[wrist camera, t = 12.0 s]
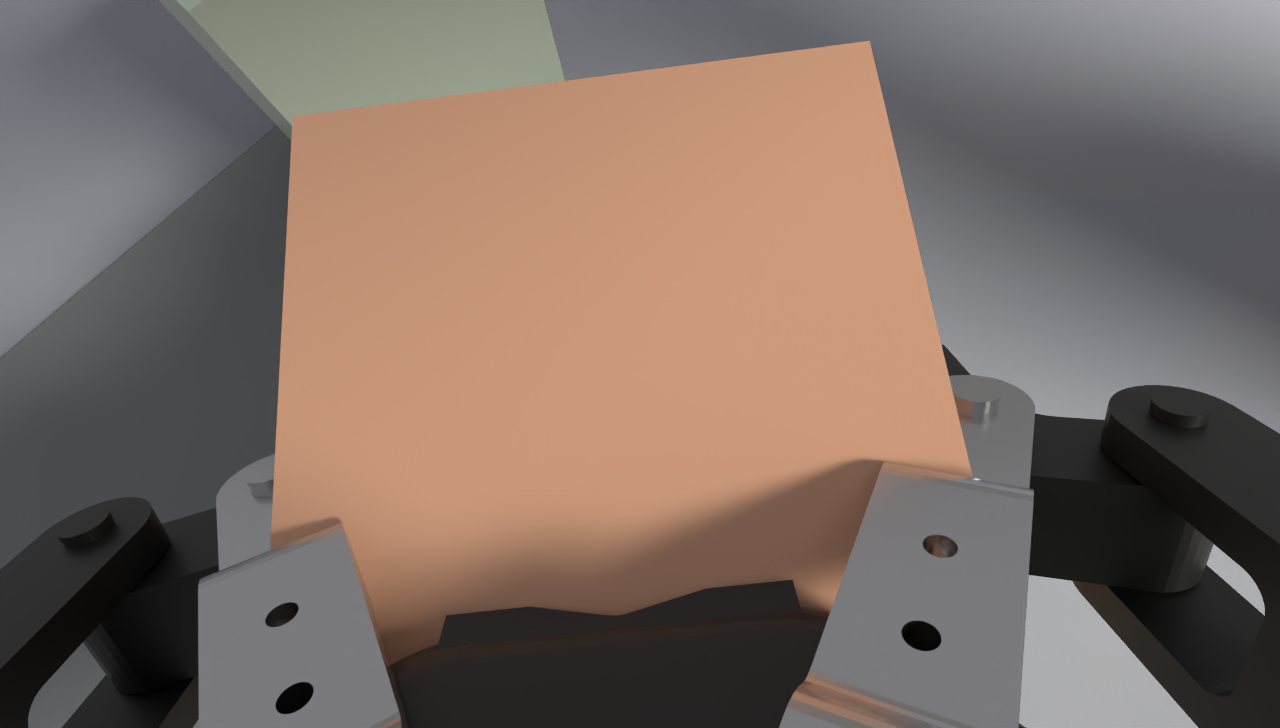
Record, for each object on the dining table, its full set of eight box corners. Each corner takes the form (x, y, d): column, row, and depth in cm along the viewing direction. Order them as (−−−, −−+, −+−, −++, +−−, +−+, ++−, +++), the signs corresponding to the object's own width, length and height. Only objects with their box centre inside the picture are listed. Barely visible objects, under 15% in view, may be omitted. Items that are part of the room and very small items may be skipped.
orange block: (508, 363, 18) (292, 116, 8) (771, 332, 17) (870, 40, 8) (522, 643, 16) (259, 756, 6) (816, 613, 15) (1021, 682, 6)
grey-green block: (440, 9, 24) (265, -372, 14) (576, 122, 22) (483, -224, 12) (289, 138, 23) (-11, -179, 13) (419, 265, 21) (188, 12, 11)
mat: (448, -1, 24) (441, -17, 24) (973, 427, 19) (983, 422, 18) (-267, 606, 20) (-300, 607, 20) (146, 1375, 15) (120, 1414, 14)
